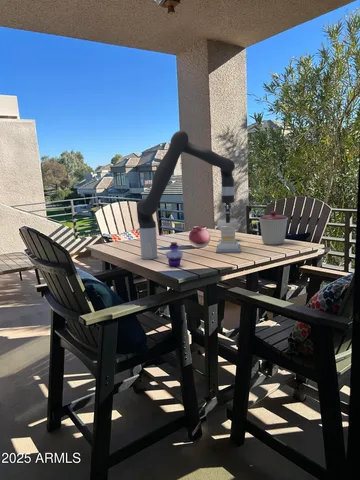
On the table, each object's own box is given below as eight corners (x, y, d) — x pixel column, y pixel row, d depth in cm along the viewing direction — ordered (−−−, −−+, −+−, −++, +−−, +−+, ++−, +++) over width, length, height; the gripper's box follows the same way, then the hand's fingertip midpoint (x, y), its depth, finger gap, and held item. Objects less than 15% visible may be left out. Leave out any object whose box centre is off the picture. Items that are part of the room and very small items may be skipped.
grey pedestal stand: (240, 253, 200) (240, 245, 199) (215, 253, 202) (215, 246, 201) (240, 245, 221) (240, 239, 220) (217, 246, 223) (217, 239, 223)
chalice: (241, 242, 234) (240, 219, 231) (220, 243, 232) (220, 220, 230) (234, 238, 248) (234, 217, 245) (215, 239, 246) (215, 218, 243)
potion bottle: (174, 263, 183) (173, 240, 181) (186, 265, 177) (185, 241, 175) (162, 266, 177) (161, 243, 175) (175, 268, 171) (174, 244, 169)
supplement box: (235, 246, 213) (235, 225, 210) (235, 248, 208) (234, 226, 206) (222, 246, 214) (221, 225, 212) (221, 248, 210) (220, 226, 208)
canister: (255, 245, 219) (255, 212, 216) (262, 240, 235) (262, 209, 232) (285, 247, 212) (286, 212, 208) (289, 241, 228) (290, 209, 224)
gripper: (234, 195, 198) (234, 223, 201) (234, 194, 212) (234, 220, 215) (220, 195, 200) (221, 223, 202) (221, 194, 213) (222, 220, 216)
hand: (228, 222), depth 209 cm, fingers open, 8 cm apart
